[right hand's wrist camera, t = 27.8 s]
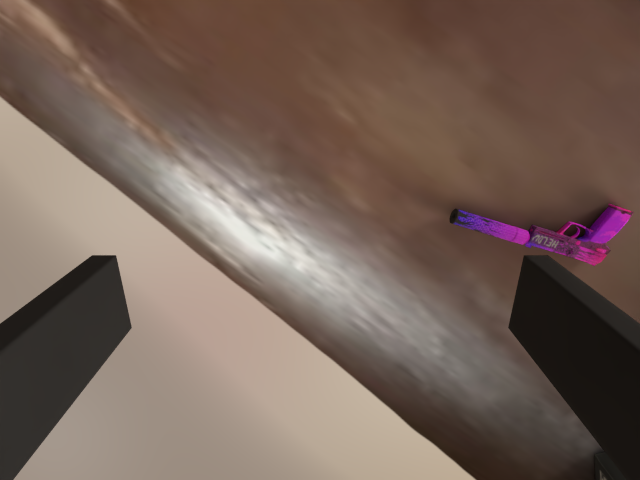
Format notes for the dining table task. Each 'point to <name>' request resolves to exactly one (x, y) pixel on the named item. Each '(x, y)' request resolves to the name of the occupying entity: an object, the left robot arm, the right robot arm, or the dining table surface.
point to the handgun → (554, 233)
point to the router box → (606, 468)
